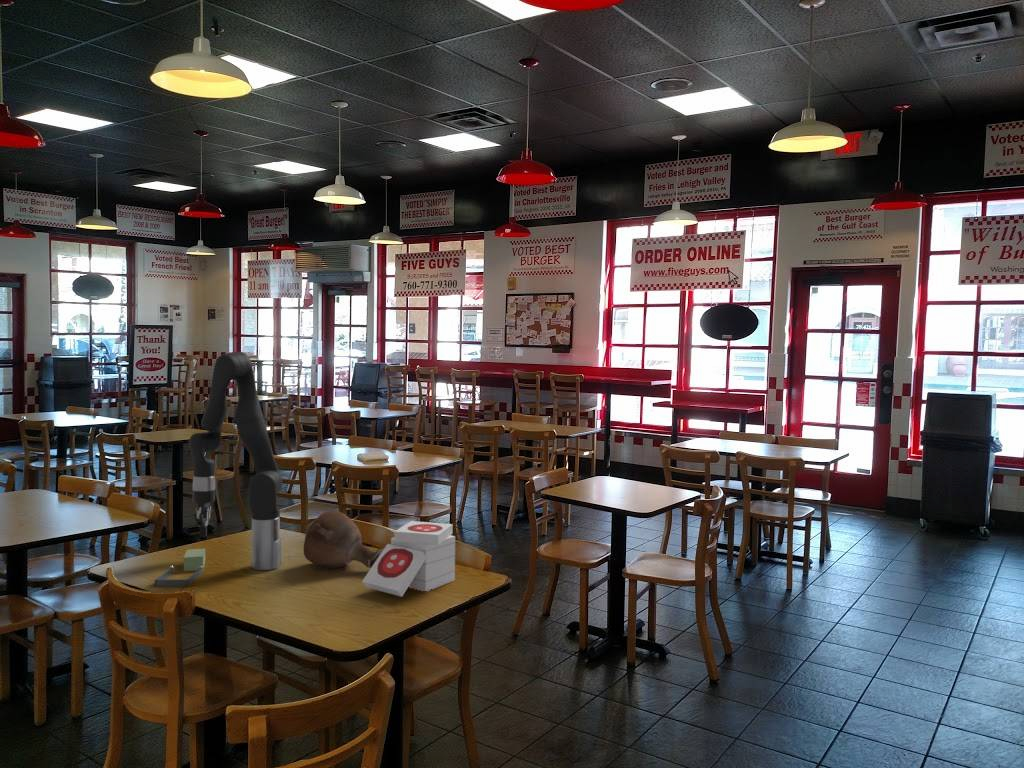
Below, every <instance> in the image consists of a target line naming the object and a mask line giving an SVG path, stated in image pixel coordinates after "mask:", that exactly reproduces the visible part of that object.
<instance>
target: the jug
mask: <svg viewBox="0 0 1024 768" xmlns="http://www.w3.org/2000/svg"><path fill="white" fill-rule="evenodd" d="M304 533H305V535H304V542H303V556H304V558H305V560H307V561H308V562H310V563H312V564H313V565H317V566H320V567H325V568H331V569H332V568H340V567H344V568H347V566H348V564H350V563H352V562H354V561H356V562H358V563H361V564H362V565H364V566H365V567H366V568H368V569H371V568H372V566H373V565H374V563H375V562H376V560H377V559H378V557H379V556H380V554H381V553H382V551H383V550H384V548H379V549H378V550H377V551H373V550H371V549H369V548H368V547H366V546H365V545H364V544H363V541H362V533H361V531H360V528H359V527H358V525H357V524H356V523H355V521H353V520H352V519H351V518H350V517H349V516H348V515H347V514H345V513H343V512H342V511H339V510H336V509H328V510H325V511H324V512H322V513H321V514H319V516H318V517H316V518H315V519H314V520H313V521H311V522H309V523H307V525H306V526H305V532H304Z"/></svg>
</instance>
